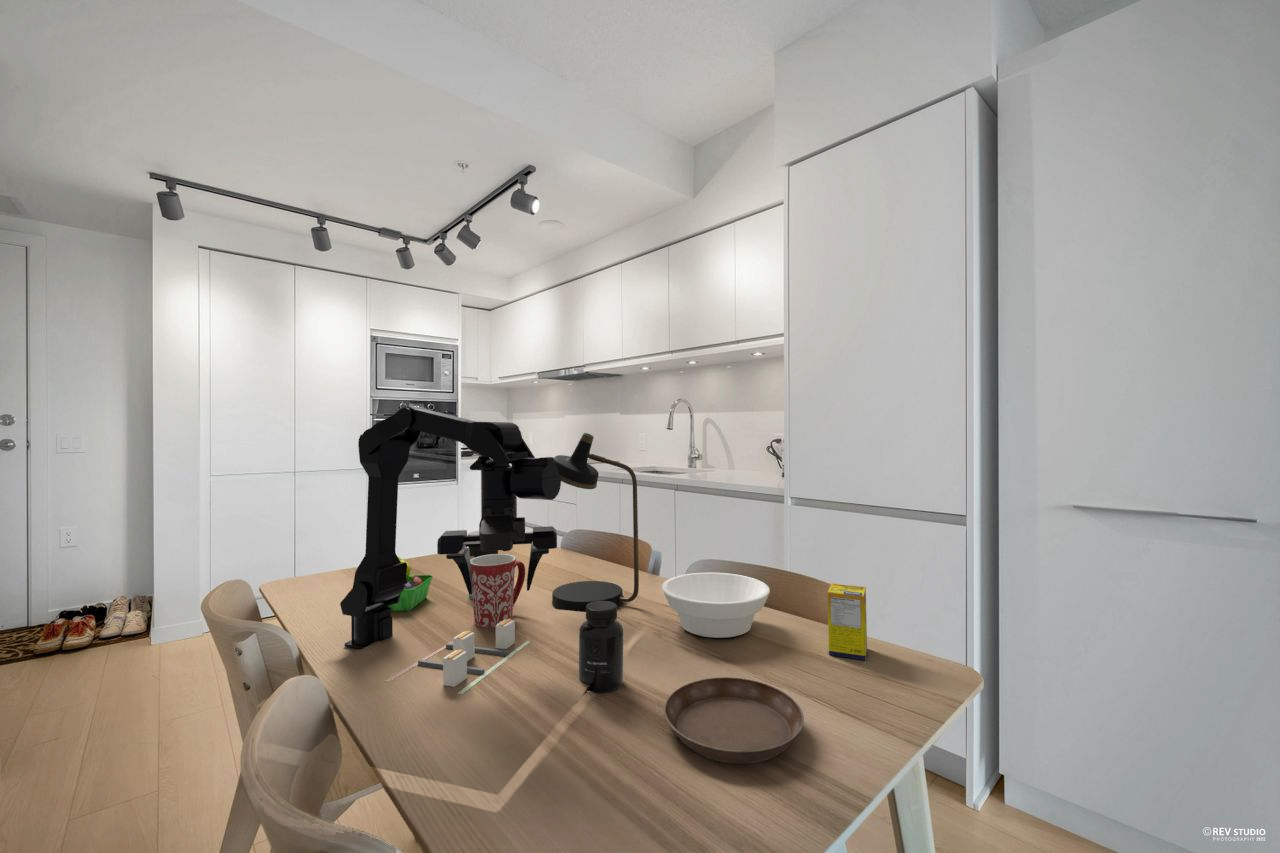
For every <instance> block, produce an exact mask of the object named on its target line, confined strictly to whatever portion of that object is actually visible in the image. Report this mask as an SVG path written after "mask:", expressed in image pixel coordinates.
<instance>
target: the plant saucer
mask: <svg viewBox="0 0 1280 853" xmlns="http://www.w3.org/2000/svg"><path fill="white" fill-rule="evenodd" d="M663 711H664V712H663V714H664V717H665V720H666V721H667V723H668V725H669V727H670V728H671V730H672V731H673V732H674V734H675V735H676V736H677V737H678V738H679V739H680V741H681V742H682V743H683V744H684V745H685V746H687V747H688V748H689V749H690V750H691V751H694V752H695V753H696V754H698V755H700V756H703V757H705V758H707V759H710V760H713V761H717V762H720V763H725V764H726V763H728V764H738V765H742V764H747V765H748V764H754V763H755V764H756V763H761V762H765V761H768V760H770V759H771V760H772V759H774V758H775V757H777V756H778V755H779V754H781V753H783V752H784V751H785V750H786V749H788V748H789V747H790V746H791V745H792V744H793V743H794V742H795V740H796V739H797V738H798V736H799V734H800V732H801V731H802V729H803V727H804V723H805V722H804V720H805V719H804V718H805V716H804V713H803V709H802V708H801V707H800V705H799V704H798V703H797V701H796V700H795V699H794V698H792V696H790V695H788V694H787V693H786V692H784V691H783V690H781V689H779V688H778V687H775V686H772V685H769V684H767V683H763V682H759V681H757V680H753V679H747V678H740V677H727V676H726V677H725V676H724V677H723V676H721V677H710V678H705V679H700V680H699V679H698V680H694V681H692V682H689V683H687V684H684V685H682V686H680V687H678V688H677V689H674V691H673V692H672V693H671V694H670V695H669V696H668V697H667V698H666V701H665V703H664V707H663Z"/></svg>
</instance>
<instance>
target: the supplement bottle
mask: <svg viewBox="0 0 1280 853" xmlns="http://www.w3.org/2000/svg"><path fill="white" fill-rule="evenodd" d="M617 619H618V606H617V605H616V604H615V603H613V602H609V601H596V602H592V603H589V604H587V605H586V612H585V621H584V622H582V623H581V625H580V627H579V631H578V632H579V633H578V680H579V681H580V682H581V683H583V684H585V685H587V686H588V687H587V688H586V690H585V691H587V692H589V693H595V694H596V693H597V694H602V693H609V692H613V691H615V690H617V689H619V688H620V687H621V685H622V683H623V681H624V628H623V625H622V624H621V623H620V621H618V620H617Z"/></svg>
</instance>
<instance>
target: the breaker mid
mask: <svg viewBox="0 0 1280 853" xmlns="http://www.w3.org/2000/svg"><path fill="white" fill-rule="evenodd" d="M475 638H476V637H475V632H473V631H471V630H466V631H463V632H461V633H459V634H458V635H456V636H454V637H453V638H452V641H453V649H452V652H454V651H455V650H459V649H460V650H463V651H466V652H467V662H469V661H471V660H472V659H473V658H475V657H476V655H475V653H476V652H475V647H476V646H475V643H476V642H475Z"/></svg>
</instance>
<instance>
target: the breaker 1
mask: <svg viewBox="0 0 1280 853" xmlns="http://www.w3.org/2000/svg"><path fill="white" fill-rule="evenodd" d="M442 663H443V669H442V670H443V671H442V673H443V674H442V682H443V684H442V685H443V686H446V687H453V688H455V687H456V686H458V685H460V684H461V683H462V682H464V681H465V680H466V679H468V672H467V666H468V661H467V652H466V651H463V650H460V649H459V650H455V651H454V652H453V651H452V652H450V653H449V654H447V655H446V656H444V657H443V658H442Z"/></svg>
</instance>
